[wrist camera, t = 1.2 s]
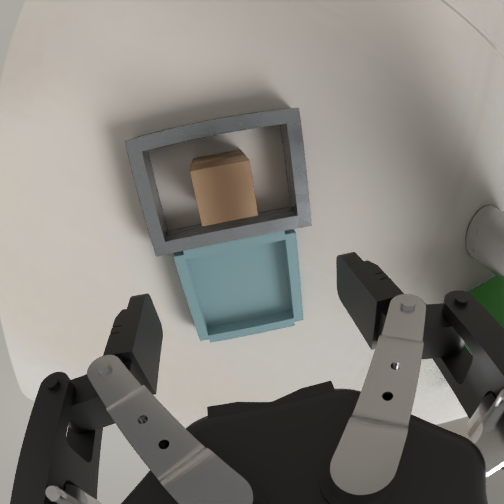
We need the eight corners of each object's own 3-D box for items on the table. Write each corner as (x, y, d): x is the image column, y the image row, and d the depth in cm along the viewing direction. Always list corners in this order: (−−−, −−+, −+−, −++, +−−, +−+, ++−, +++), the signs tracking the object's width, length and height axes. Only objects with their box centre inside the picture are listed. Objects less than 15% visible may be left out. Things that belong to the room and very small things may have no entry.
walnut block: (240, 149, 32) (249, 160, 25) (248, 194, 34) (258, 215, 28) (193, 158, 31) (190, 171, 25) (202, 203, 34) (202, 226, 27)
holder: (290, 108, 30) (298, 108, 28) (303, 216, 36) (311, 225, 33) (132, 138, 29) (125, 141, 27) (159, 244, 35) (156, 256, 32)
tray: (289, 219, 36) (295, 227, 34) (298, 311, 42) (303, 323, 40) (173, 242, 35) (171, 252, 33) (201, 331, 41) (201, 344, 39)
